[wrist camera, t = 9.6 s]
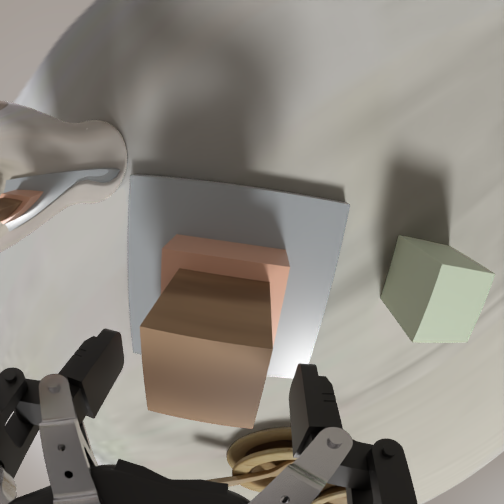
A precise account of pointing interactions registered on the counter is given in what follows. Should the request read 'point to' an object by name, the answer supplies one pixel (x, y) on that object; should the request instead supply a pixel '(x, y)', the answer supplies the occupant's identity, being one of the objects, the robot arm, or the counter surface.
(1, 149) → the beer glass
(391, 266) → the block
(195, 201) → the plate
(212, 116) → the counter surface
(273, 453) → the tableware set
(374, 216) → the counter surface
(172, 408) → the block
